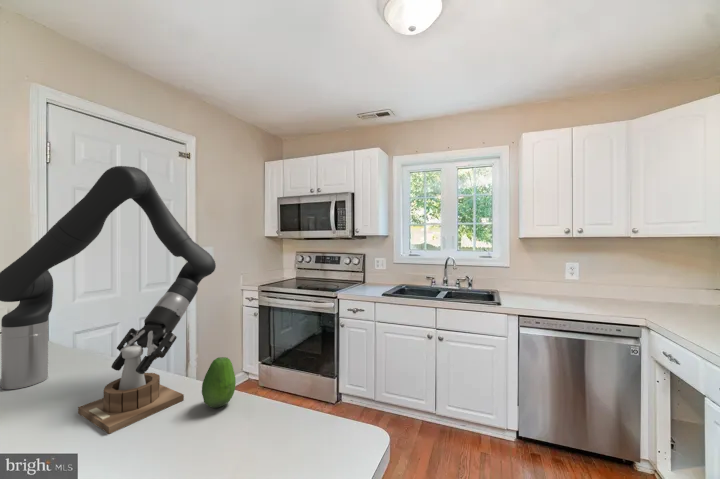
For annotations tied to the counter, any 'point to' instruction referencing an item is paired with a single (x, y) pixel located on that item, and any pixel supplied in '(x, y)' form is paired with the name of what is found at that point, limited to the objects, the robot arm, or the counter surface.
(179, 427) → the counter surface
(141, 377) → the salt shaker
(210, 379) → the avocado
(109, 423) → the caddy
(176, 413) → the counter surface
